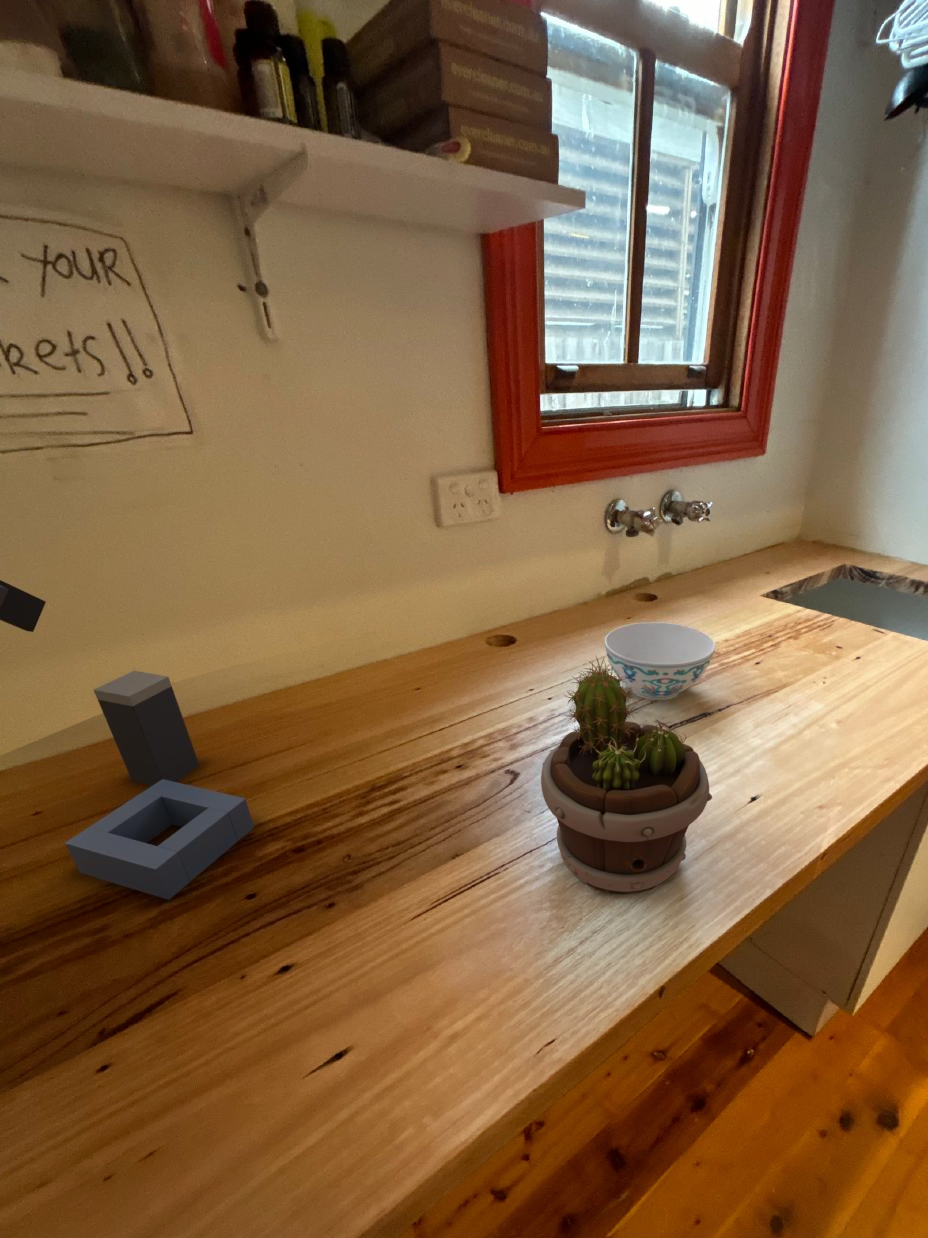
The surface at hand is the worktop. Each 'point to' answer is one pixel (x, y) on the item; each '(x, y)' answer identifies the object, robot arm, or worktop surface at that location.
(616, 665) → the chinaware
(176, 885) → the block
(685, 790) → the flowerpot
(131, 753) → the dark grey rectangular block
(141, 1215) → the worktop surface
